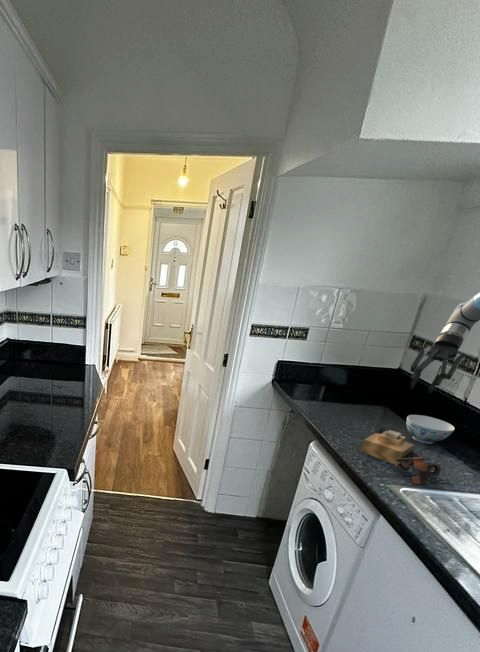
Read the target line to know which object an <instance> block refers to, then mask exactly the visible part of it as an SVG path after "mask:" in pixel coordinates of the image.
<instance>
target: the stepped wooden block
mask: <svg viewBox="0 0 480 652" xmlns="http://www.w3.org/2000/svg"><path fill="white" fill-rule="evenodd" d="M386 432H388V430H386V431H383V432H382V433H378V432H375V433H373V434H372V435H369V436H368V437H366V438H365V439H363V443H362V445H361V449H360V451H359V452H361V453H364V454H366V455H369V456H372V457H374V458H376V459H379V460H382V461H385V462H387V463H390V464H393V465H394V464H395V463H396V459H397V458H406V456H407V455H409V454H410V453H411V452H412V450H413V447H414V444H413V443H410V442H407V441H406V439H407V437H406V436H403V435H401V436H400V438H399V439H394V438H391V437H387V436H385V435H386Z"/></svg>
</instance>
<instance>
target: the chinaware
mask: <svg viewBox="0 0 480 652" xmlns="http://www.w3.org/2000/svg"><path fill="white" fill-rule="evenodd" d="M406 428H407V431H408V433H409V434H410V435H411V437H412V439H413V440H415V441H417V442H420V443H422V444H427V445H432V444H434V443H436V442H441V441H443V440H445V439H447V438H448V437H449V436H450V435H452V433H454V431H455V426H453V425H452V424H451V423H449V422H447V421H445V420H442V419H439V418H436V417H432V416H428V415H423V414H422V415H420V414H409V415H407V417H406Z"/></svg>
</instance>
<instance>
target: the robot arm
mask: <svg viewBox="0 0 480 652" xmlns="http://www.w3.org/2000/svg"><path fill="white" fill-rule="evenodd" d="M479 321H480V291H479V292H477V293H476V294H475V295H474V296H473V297H471V298H470V299H469V300H467V301H464V302H460V303H459V304H458V305H457V306H456V308H454V309H453V311H452V313H451V315H450V317H449V319H448V320H447V321H446V323H445V325H444V326H443V328H442V330H441V331H440V333H439V335H438V336H437V338H436V340H435V341H434V343H433V344H432V345H431V346H430V347H429V348H428V347H427V348H425V347H424V346H421V347H420V348H419V353H418V354H417V356H416V357H415V359H414V361H413V362H412V364H411V365H410V372H412V375H411V376H410V380H411V381H410V384H409V390H413V389H414V387H415V386H416V384H417V382H418V380H419V379H420V378H421V375H422V372H423V371H424V370H425V369H426V368H427V367H428V366H429V365H430V364H431V363H433V362H434V361H439V362H442V363H441V368H440V374H436V375H435V377H434V379H433V380H432V382H431V383H430V386H429V387H428V388H427V394H432V392H433V390H434V389H435V387H439V386H441V384H442V382H443V381H444V380H451V379H452V378H453V376H454V374H455V372H456V371H457V369H458V368H459V366H460V364H461V363H463V362H464V361H465V358H466V354H465V353H459V350H460V349H461V347H462V345H463V342H465V340H466V338H467V337H468V335H469V333H470V331H471V330H472V329H473V327H474V326H475V325H476V323H478V322H479ZM428 353H429V355H428V356H427V358H425V360H423V359H424V356H426V355H427V354H428ZM453 358H455V360H454V362H453V364H452V365H451V367H450V369H449V370H448V372H447V373H446V371H447V365H448V361H449V360H451V359H453ZM422 360H423V361H422Z"/></svg>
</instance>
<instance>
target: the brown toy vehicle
mask: <svg viewBox="0 0 480 652" xmlns="http://www.w3.org/2000/svg"><path fill="white" fill-rule="evenodd" d="M412 464H413V468H414V470H415V471H417V472H418V475H417V476H411V477H410V478H411V484H413V485H426V484H428V482H429V479H430V478H433V477H436V476H438V475H439V474H440V473H441V472H442V468H441V465H440V464H439V463H437V462H436V463H435V462H427V461H425V460H424V456H423V457H422V456H417V457H416V456H415V457H405V458H397V459H396V463H395V464H393V466H394V467H395V468H396V469H398V468H399V467H401V468H402V470H403V471H409V470H410V469H411V467H410V466H411V465H412ZM432 468H434V470H432V471H431V472H430V470H431V469H432Z"/></svg>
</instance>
